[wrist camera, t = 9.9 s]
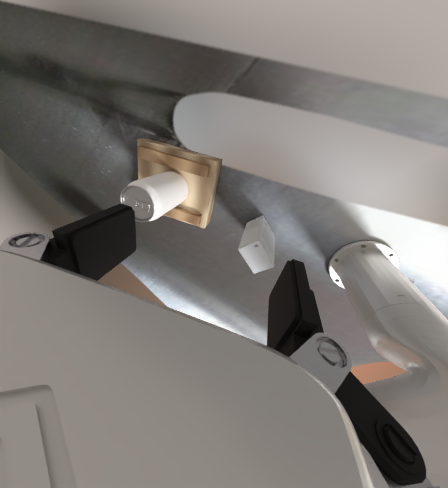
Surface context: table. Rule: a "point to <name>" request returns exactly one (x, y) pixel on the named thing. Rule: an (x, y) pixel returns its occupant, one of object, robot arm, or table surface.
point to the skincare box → (258, 245)
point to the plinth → (191, 169)
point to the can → (155, 195)
